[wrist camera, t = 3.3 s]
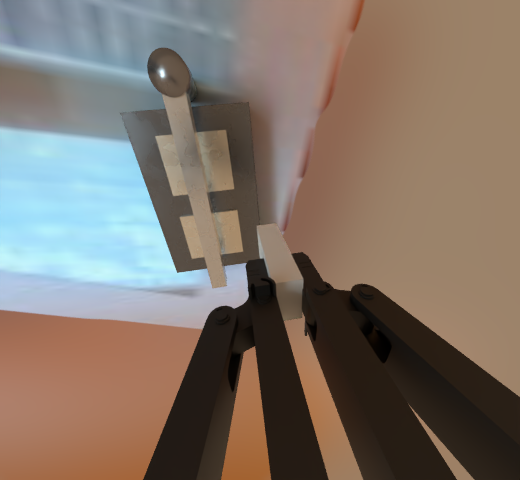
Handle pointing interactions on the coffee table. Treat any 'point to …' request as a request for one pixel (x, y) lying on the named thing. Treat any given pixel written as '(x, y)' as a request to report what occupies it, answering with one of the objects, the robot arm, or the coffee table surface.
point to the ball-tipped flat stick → (188, 151)
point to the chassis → (217, 174)
